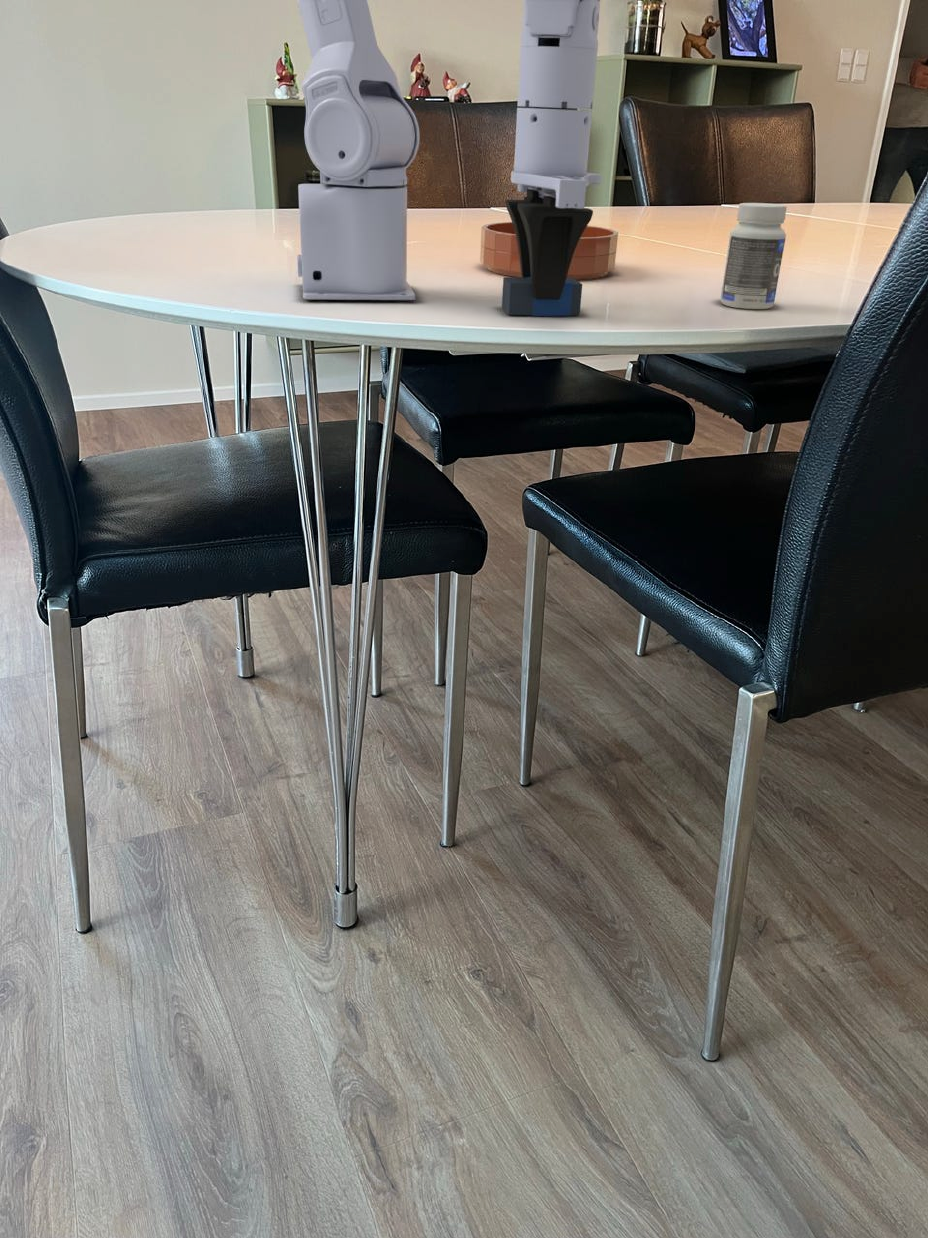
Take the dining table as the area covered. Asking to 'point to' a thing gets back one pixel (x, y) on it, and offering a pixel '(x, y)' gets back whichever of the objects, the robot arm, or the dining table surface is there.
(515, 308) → the eraser
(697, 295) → the dining table surface
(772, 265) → the pill bottle
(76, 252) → the dining table surface
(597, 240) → the bowl
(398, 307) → the dining table surface
